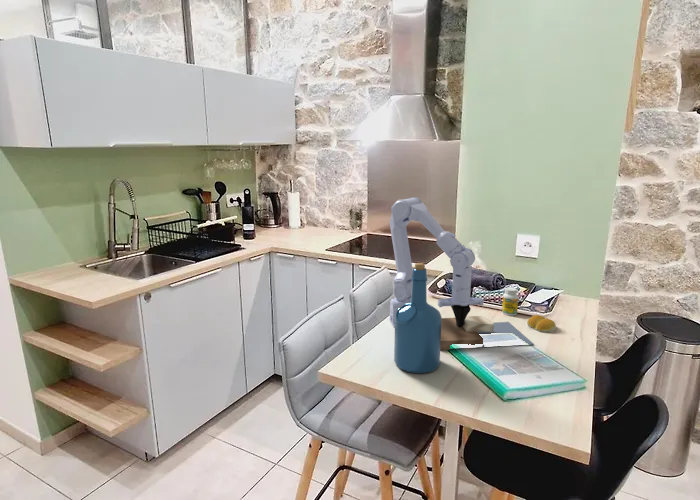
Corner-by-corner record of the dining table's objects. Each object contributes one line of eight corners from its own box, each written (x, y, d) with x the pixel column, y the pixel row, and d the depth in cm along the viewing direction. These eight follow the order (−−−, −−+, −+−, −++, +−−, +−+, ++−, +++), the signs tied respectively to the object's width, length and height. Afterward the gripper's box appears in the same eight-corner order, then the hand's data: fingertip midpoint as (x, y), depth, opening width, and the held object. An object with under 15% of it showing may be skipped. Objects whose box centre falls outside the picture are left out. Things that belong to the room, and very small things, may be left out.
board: (438, 350, 138) (439, 341, 137) (423, 327, 155) (424, 319, 155) (482, 347, 139) (483, 338, 139) (463, 325, 157) (463, 317, 156)
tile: (466, 331, 144) (467, 324, 143) (458, 323, 150) (459, 316, 150) (493, 331, 145) (494, 324, 144) (484, 323, 152) (485, 316, 151)
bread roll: (546, 335, 149) (547, 323, 148) (523, 326, 156) (524, 315, 155) (561, 329, 153) (562, 318, 152) (538, 321, 160) (538, 310, 159)
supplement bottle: (516, 311, 169) (518, 287, 167) (517, 316, 164) (519, 291, 162) (501, 310, 171) (503, 286, 168) (501, 315, 166) (503, 290, 163)
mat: (484, 347, 139) (484, 346, 139) (464, 325, 157) (464, 323, 157) (533, 345, 141) (533, 343, 141) (508, 323, 158) (508, 321, 158)
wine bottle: (419, 349, 138) (422, 255, 131) (450, 367, 127) (455, 265, 121) (383, 361, 131) (384, 262, 124) (413, 380, 120) (416, 273, 113)
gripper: (443, 291, 139) (441, 332, 142) (488, 289, 140) (485, 330, 143) (436, 284, 146) (435, 323, 149) (479, 283, 147) (477, 321, 150)
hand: (459, 326), depth 147 cm, fingers closed
